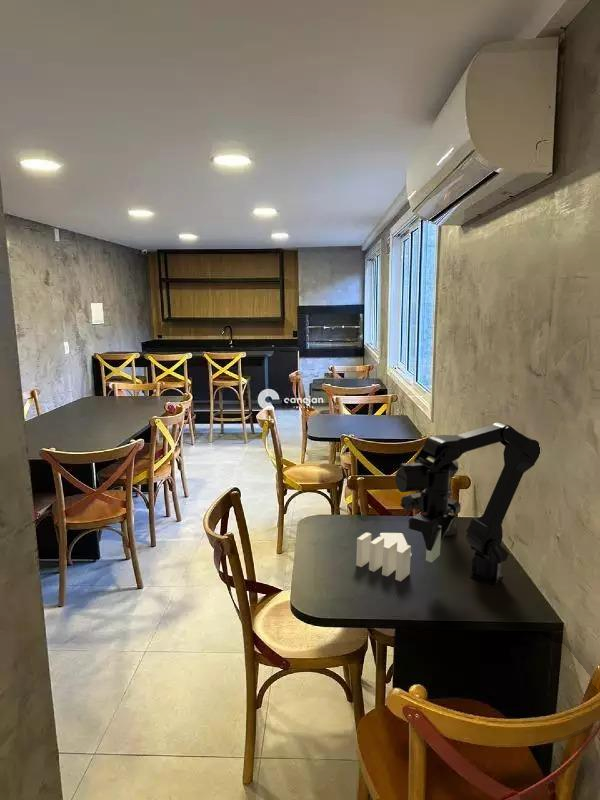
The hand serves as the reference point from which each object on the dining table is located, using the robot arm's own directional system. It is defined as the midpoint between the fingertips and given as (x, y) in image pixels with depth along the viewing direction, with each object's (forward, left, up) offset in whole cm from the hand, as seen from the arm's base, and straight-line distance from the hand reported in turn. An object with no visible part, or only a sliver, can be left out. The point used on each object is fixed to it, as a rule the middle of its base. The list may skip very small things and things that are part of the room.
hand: (433, 546), depth 134 cm
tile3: (+12, 0, -11) cm, 16 cm away
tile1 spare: (0, 0, -3) cm, 3 cm away
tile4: (+16, 0, -11) cm, 19 cm away
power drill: (+12, -34, -11) cm, 38 cm away
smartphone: (+19, -16, -12) cm, 27 cm away
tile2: (+8, 0, -11) cm, 14 cm away
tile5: (+20, 0, -11) cm, 23 cm away
